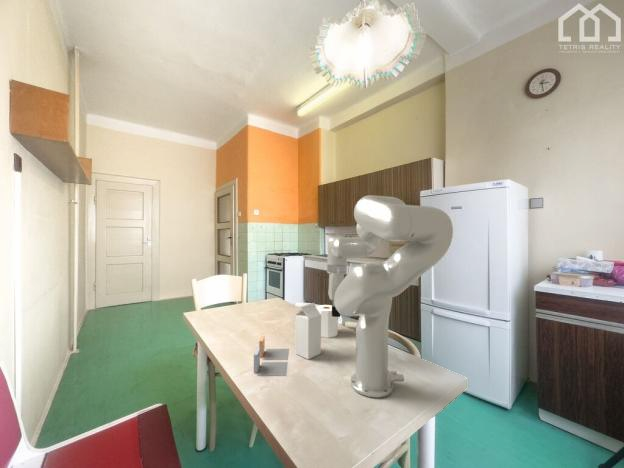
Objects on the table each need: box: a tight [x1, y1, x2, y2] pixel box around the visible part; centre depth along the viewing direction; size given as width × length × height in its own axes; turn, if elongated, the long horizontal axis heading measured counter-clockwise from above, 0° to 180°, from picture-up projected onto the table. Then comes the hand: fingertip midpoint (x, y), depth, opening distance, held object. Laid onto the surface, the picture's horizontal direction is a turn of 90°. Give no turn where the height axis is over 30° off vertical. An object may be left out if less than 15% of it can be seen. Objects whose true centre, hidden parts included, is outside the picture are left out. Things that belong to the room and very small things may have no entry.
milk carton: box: [294, 302, 322, 360], centre depth 101 cm, size 7×7×19 cm
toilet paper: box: [315, 304, 339, 339], centre depth 122 cm, size 10×10×12 cm
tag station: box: [253, 335, 290, 377], centre depth 95 cm, size 11×20×6 cm, turn 2°
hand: (335, 315), depth 102 cm, fingers closed
